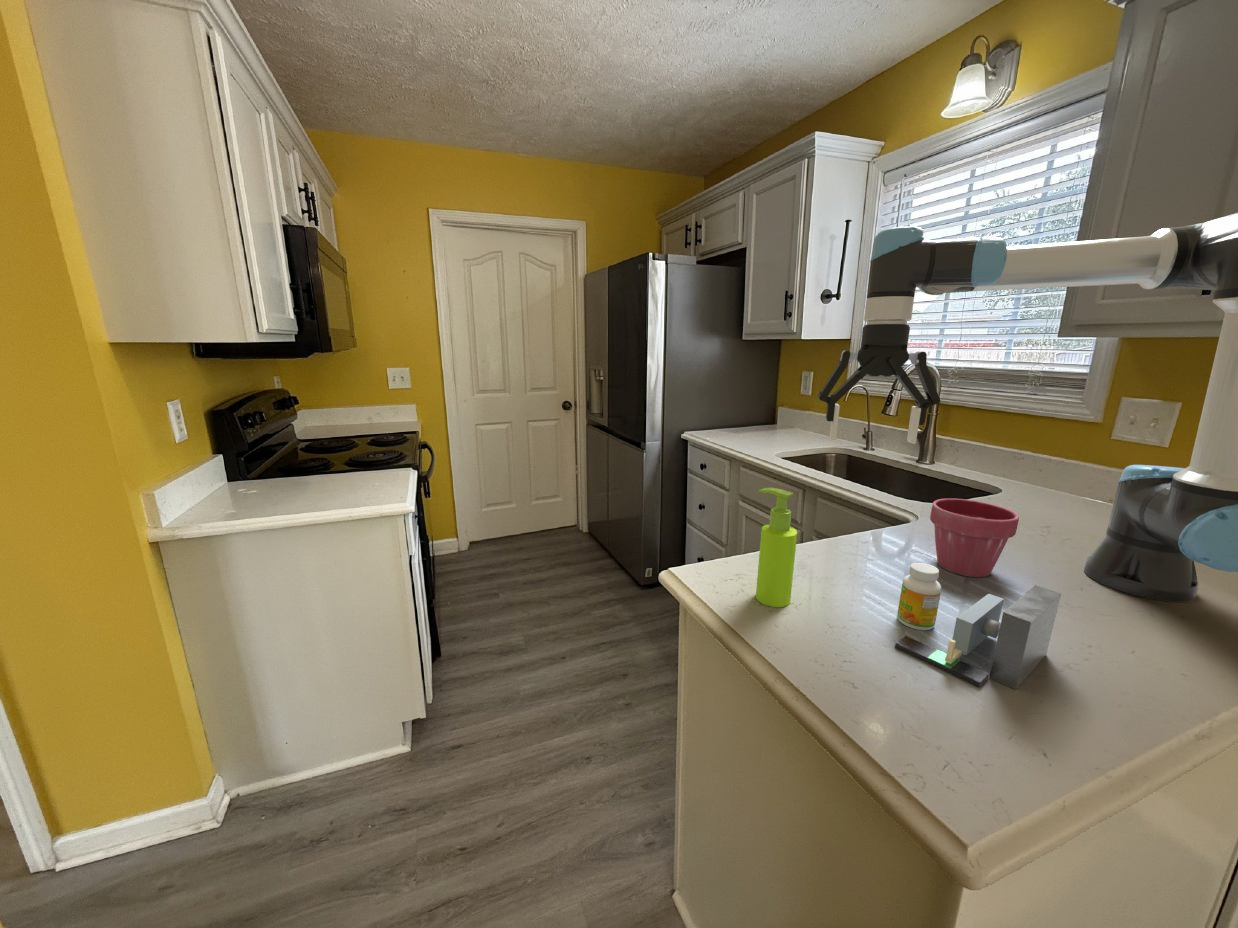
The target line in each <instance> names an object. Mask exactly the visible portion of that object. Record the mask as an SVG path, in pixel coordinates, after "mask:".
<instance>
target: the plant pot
mask: <svg viewBox="0 0 1238 928" xmlns="http://www.w3.org/2000/svg"><path fill="white" fill-rule="evenodd" d="M1019 519H1020V516H1019V515H1018V513H1017V512H1015V511H1013V510H1011V509H1009V508H1006V507H1003V506H1000V505H997V504H992V503H988V502H985V501H984V502H982V501H978V500H972V499H963V498H940V499H936V500H934V501H933V502H932V506H931V511H930V515H929V520H930V522H931V523H932V524H934V525H933V527H934V528H933V529H934V540H935V541H934V544H935V552H936V562H937V564H938V565H939V566H940V568H942V569H944V570H946V571H948V572H951V573H953V574H957V575H961V576H965V577H970V578H987V577H989V576H990V575H991V573H992V572H993V570H994V567H995V565H996V564H997V562H998V561H999V558H1000V556H1001V555H1002V552H1003V550H1004V549H1005V546H1006V544H1007V542H1008V541H1009V540H1008V539H1009V538H1013V537H1014V536H1016V534H1017V529H1018V526H1019Z"/></svg>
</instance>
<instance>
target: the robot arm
mask: <svg viewBox="0 0 1238 928" xmlns="http://www.w3.org/2000/svg"><path fill="white" fill-rule="evenodd" d="M869 261H870V262H869V263H870V264H869V271H868V272H869V273H868V281H867V290H866V292H867V293H866V299H865V300H866V301H865V307H864V315H863V321H864V322H866V324H864V326H863V327H862V330H861V331H862V334H861V340H860V347H859V351H857V352H852V351H849V350H842V351H841V353H840V356H839V360H838V363H837V365H836V366H835V368H834V369H833V371H832V373H831V374H830V376H829V377H828V379H827V380H826V382H825V383H824V385H823V386H822V388H821V389H820V391H819V393H818V394H817V399H819V400H820V401H822V402H824V403H826V411H825V413H826V414H825V420H826V421H827V422H830V428H829V429H830V430H829V438H830V439H831V440H832V441H836V440H837V435H838V434H837V433H838V426H839V418H840V417H839V416H840V409H841V405H840V404H838V403H837V402H839V401H840V400H841V399H842V398H843V397H844V396H845V395H846V394H847V393H848V392H849V391H850V390H851V389H852V388H853V387H854V386H855V385H856V384H858V383H859V381H861V380H862V379H863V378H864V377H866V376H869V377H880V376H882V377H887V378H888V377H889V378H890V377H893V376H894V377H895V378H896V379H897V381H898V382H899V383H900V385H901V386H902V387H903V388H904V389H905V391H906V392H907V393H908V395H909V396H910V397H911V399H912V400H913V401H914V403H915V404H916V406H911V409H910V417H909V423H908V424H909V425H908V429H907V436H906V437H907V438H906V442H908V443H909V444H914V445H915V444H917V438H918V431H919V426H924V425H925V423H926V418H927V410H928V409H929V408H930V407H931V406H934V405H940V403H941V398H940V395H939V394H938V390H937V387H936V385H935V383H934V381H933V378H932V375H931V372H930V370H929V367H928V366H927V358H928V357H927V356H928V355H927V352H926V351H919V350H918V351H916V352H908V345H909V338H910V332H911V326H910V325H909V324H908V322H911V321H912V317H913V309H914V303H915V302H914V301H915V294H916V293H915V292H916V289H917V288H918V289H919V290H920V291H921V292H922V293H924V294H927V295H931V296H942V295H944V294H956V293H967V292H985V291H986V292H987V291H988V292H989V291H1007V290H1030V289H1049V288H1069V287H1070V288H1071V287H1072V288H1073V287H1088V286H1089V287H1092V286H1110V285H1113V286H1114V285H1115V286H1116V285H1131V284H1134V285H1135V284H1136V285H1137V284H1138V285H1139V286H1140V287H1141V288H1142V289H1144V290H1155V289H1156V290H1157V289H1158V290H1159V289H1164V290H1165V289H1180V290H1204V291H1207V290H1208V291H1214V294H1213V298H1212V303H1213V304H1214V305H1215V306H1217V307H1218V308H1219V309H1221V310H1222V311H1223V313H1224V316H1223V321H1222V323H1221V329H1220V332H1219V333H1220V334H1219V338H1218V342H1217V346H1216V351H1215V354H1214V359H1213V363H1212V367H1211V371H1210V376H1209V380H1208V381H1209V382H1208V385H1207V389H1206V394H1205V398H1204V402H1203V407H1202V412H1201V415H1200V420H1199V423H1198V428H1197V432H1196V437H1195V442H1194V445H1193V449H1192V454H1191V458H1190V462H1189V465H1188V466H1187V467H1178V466H1177V467H1176V466H1166V465H1165V466H1164V465H1163V466H1161V465H1151V464H1149V465H1148V464H1146V465H1145V464H1131V465H1128V466H1126V467H1125V468H1124V469H1123V471H1122V473H1121V476H1120V477H1119V480H1118V482H1117V484H1118V485H1117V489H1116V493H1115V497H1114V501H1113V504H1112V505H1113V506H1112V509H1111V513H1110V517H1109V521H1108V524H1107V529H1106V533H1105V535H1104V538H1103V539H1102V540H1101V541H1100V542H1099V544H1098V545H1097V546H1096V547H1095V549H1094V550H1093V552H1092V553H1091V555H1090V556H1088V557H1087V559H1086V561H1085V564H1084V569H1083V570H1084V573H1085V574H1086V575H1087V576H1088V577H1089V578H1090V579H1092V580H1094V581H1095V582H1098V583H1099V584H1102V585H1104V586H1106V587H1109V588H1111V589H1114V590H1117V591H1120V592H1123V593H1127V594H1130V595H1134V596H1138V597H1142V598H1147V599H1150V600H1151V599H1152V600H1157V601H1163V602H1170V603H1187V602H1192V601H1194V600H1195V599H1196V596H1197V594H1198V591H1199V582H1198V576H1197V569H1196V565H1195V562H1196V563H1198V564H1201V565H1204V566H1206V567H1209V568H1211V569H1214V570H1218V571H1222V572H1228V573H1238V212H1235V213H1233V214H1232V213H1231V214H1229V215H1225V216H1222V217H1218V218H1215V219H1211V220H1207V221H1204V222H1199V223H1194V224H1191V225H1189V224H1188V225H1184V226H1178V227H1177V226H1175V227H1165V228H1164V227H1163V228H1161V229H1158V230H1157V231H1155V232H1153V233H1152V234H1151V235H1146V236H1145V235H1144V236H1134V237H1133V236H1132V237H1119V238H1117V237H1116V238H1107V239H1106V238H1105V239H1094V240H1093V239H1092V240H1091V239H1090V240H1080V241H1079V240H1078V241H1065V242H1054V243H1053V242H1052V243H1039V244H1027V245H1024V244H1023V245H1014V246H1013V245H1011V246H1008V244H1007V242H1006V240H1005V239H1004V238H1002V237H985V236H980V237H971V238H970V237H969V238H967V237H966V238H957V239H956V238H953V239H952V238H951V239H935V240H932V239H931V240H930V239H925V237H924V230H923V228H921V227H920V226H919V227H918V226H898V227H897V226H896V227H891V228H887V229H883V230H881V231H880V232H878V233H877V235H876V236H875V237H874V241H873V245H872V252H871V257H870V260H869ZM855 359H856V360H857V362H858V364H859V365H860V366H859V367H858V368H857V369H856V370H855V371H854V372H853V373H852V374H851V375H850V376H849V378H847V380H845V381H844V382H843V383H842V384H841V385H840V386H839V387H838V388H837V389H836V390H835V391H834V392H833V393H832V394H830V393H831V392H832V390H833V389H834V387H835V386H836V385H837V383H838V381H839V379H840V378H841V377H842V375H843V373H844V372H845V371H846V368H847V367H848V365H849V364H852V363H853V361H854V360H855ZM908 361H910V363H911V364H912V365H914V368H915V370H916V373H917V376H918V379H919V381H920V383H921V386H922V389H923V391H924V394H925V397H924V395H923V394H922V393H921V392H920V389H918V387H917V386H916V385H915V383H914V381H912V380H911V378H910V377H909V376H908V373H907V372H906V371H905V369H904V368H903V366H904V365H905V364H906V363H907V362H908Z"/></svg>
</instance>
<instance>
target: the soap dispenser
mask: <svg viewBox="0 0 1238 928" xmlns="http://www.w3.org/2000/svg"><path fill="white" fill-rule="evenodd" d="M758 492H759V493H760V494H768V495H769V494H770V495H774V496H776V505H775V507H772V508H771V509H770V514H769V515H770V516H769V524H768V523H767V524H765V525H763V526H761V530H760V532H761V533H760V543H759V552H758V554H759V555H758V566H757V578H756V589H755V598H756V600H757V601H758V602H759V603H761V604H763V605H764V606H767V607H771V608H784V607H787V606H789V605H790V603H791V598H792V588H793V579H794V578H793V577H794V570H795V569H794V568H795V558H796V548H797V542H798V541H797V539H798V530H796V528H794V527H791V521H792V511H791V510H790V509H789V508H788V499H790V498H793V497H794V496H793V495H794V492H791V491H788V490H785V489H781V488H775V487H763V488H762V489H761V488H760V489H758Z"/></svg>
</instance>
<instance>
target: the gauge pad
mask: <svg viewBox="0 0 1238 928" xmlns="http://www.w3.org/2000/svg"><path fill="white" fill-rule="evenodd" d="M1003 604H1004V598H1002V597H1000V596H997V595H994V594H991V593H988V594H985V596H983V597H982V598H981V599H980V600H978V601H977V602H976V603H974V604H973V605H971V606H970V607H968V608H967V609H965V611H963V612H962V613H961V614H960V615H958V616H956V618H955V624H954V629H953V634H952V638H950V639H949V641H948V645H947V650H946V651H947V652H946V653H947V655H946V657H945V661H946V662H948V663H950V664H951V663H952V662H954V661H955V660H956V659H957V658H958V659H959V658H960V656H962V655H965V656H968V654H969V653H971V652H972V651H973V650H974V649H975V648H976V647H978V645H980V644H981V643H982V642H983V641H984V640H986V639H987V638H988V637H991V638H993V639H998V634H999V630H1000V625H1001V621H1000V618H1001V615H1002V613H1001V612H1002V608H1003Z"/></svg>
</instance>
